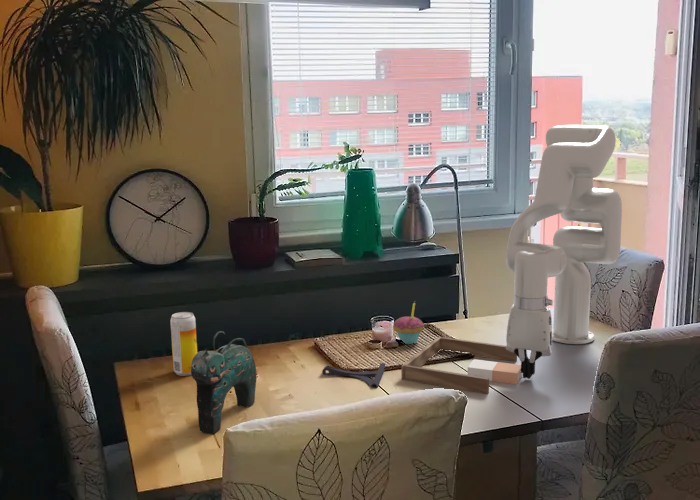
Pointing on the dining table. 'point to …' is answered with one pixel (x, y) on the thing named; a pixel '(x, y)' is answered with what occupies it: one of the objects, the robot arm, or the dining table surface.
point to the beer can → (183, 342)
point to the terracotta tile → (506, 373)
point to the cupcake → (408, 328)
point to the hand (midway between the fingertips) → (527, 376)
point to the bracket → (358, 374)
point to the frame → (450, 379)
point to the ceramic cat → (222, 381)
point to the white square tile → (481, 368)
